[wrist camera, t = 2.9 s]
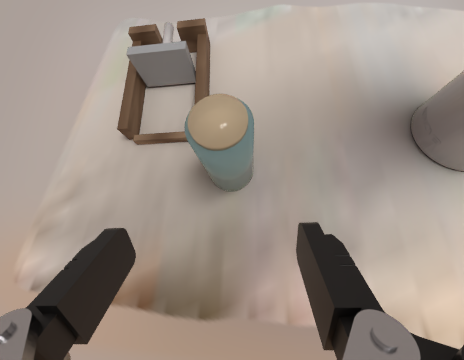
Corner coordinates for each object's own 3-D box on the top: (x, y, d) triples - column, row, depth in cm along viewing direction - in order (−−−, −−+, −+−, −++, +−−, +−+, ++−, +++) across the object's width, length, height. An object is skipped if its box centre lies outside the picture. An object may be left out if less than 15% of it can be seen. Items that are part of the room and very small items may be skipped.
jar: (251, 149, 24) (252, 86, 14) (254, 190, 22) (256, 150, 13) (210, 152, 24) (183, 92, 15) (210, 192, 23) (179, 154, 13)
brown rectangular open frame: (210, 44, 30) (204, 18, 26) (208, 139, 25) (201, 123, 21) (143, 51, 31) (129, 27, 27) (128, 145, 26) (109, 130, 22)
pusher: (198, 41, 30) (188, 3, 25) (196, 82, 27) (185, 48, 23) (153, 46, 30) (134, 9, 25) (147, 86, 28) (126, 54, 23)
